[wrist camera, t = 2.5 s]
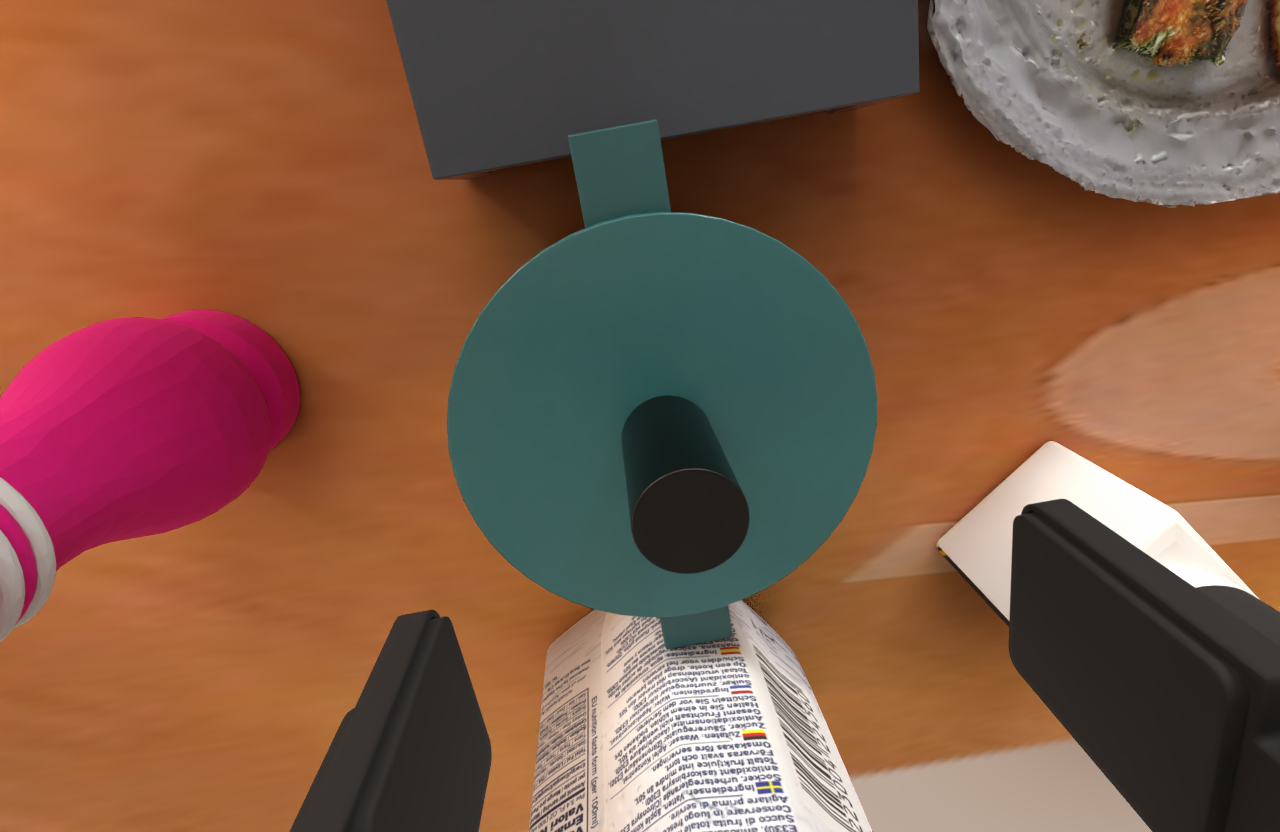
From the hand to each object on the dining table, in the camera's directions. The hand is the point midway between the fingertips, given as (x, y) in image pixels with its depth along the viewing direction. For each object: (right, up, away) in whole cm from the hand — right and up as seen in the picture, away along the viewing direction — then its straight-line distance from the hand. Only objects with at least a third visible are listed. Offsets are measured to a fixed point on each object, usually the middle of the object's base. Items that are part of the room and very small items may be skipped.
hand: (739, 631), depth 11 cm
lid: (-1, +3, +9) cm, 9 cm away
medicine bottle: (+17, -2, +21) cm, 27 cm away
